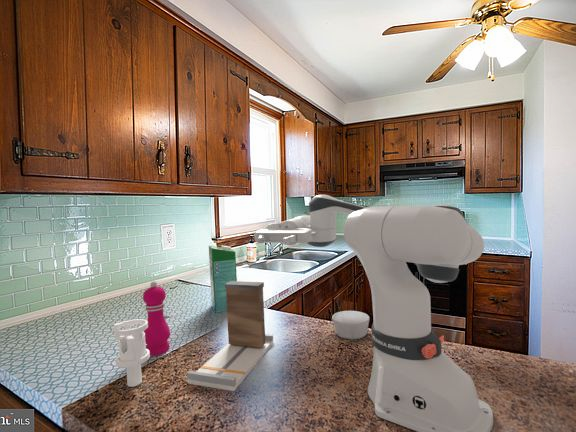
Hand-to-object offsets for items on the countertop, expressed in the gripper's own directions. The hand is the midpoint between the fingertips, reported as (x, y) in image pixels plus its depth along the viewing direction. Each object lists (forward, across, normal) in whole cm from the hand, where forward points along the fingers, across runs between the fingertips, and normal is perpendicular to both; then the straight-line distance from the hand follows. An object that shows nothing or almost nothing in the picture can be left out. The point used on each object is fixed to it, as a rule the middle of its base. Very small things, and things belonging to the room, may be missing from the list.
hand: (271, 241), depth 97 cm
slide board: (+23, +1, -27) cm, 35 cm away
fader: (+16, +2, -26) cm, 30 cm away
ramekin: (-5, -22, -30) cm, 38 cm away
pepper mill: (+27, +26, -26) cm, 45 cm away
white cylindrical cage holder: (+40, +17, -25) cm, 50 cm away
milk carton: (-10, +32, -30) cm, 45 cm away
